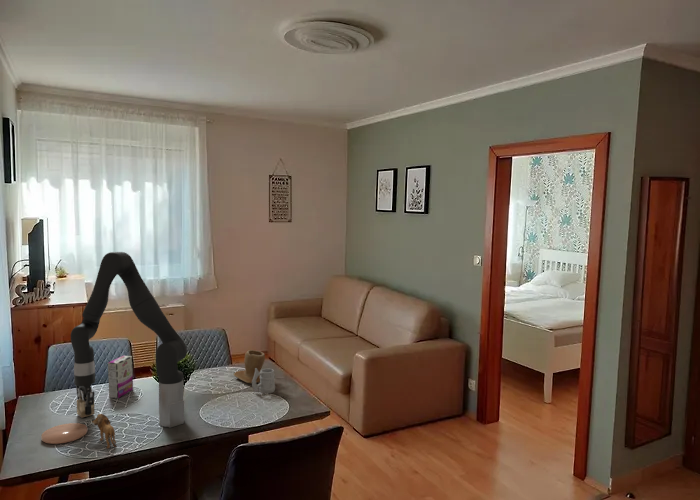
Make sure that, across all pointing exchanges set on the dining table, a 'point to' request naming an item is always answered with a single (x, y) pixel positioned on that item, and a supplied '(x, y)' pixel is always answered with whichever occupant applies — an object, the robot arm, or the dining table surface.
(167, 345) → the robot arm
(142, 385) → the dining table surface
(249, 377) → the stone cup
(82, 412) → the birch block
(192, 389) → the dining table surface
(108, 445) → the lion figurine
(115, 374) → the candy bar box
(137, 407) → the dining table surface
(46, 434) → the dish
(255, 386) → the mug
